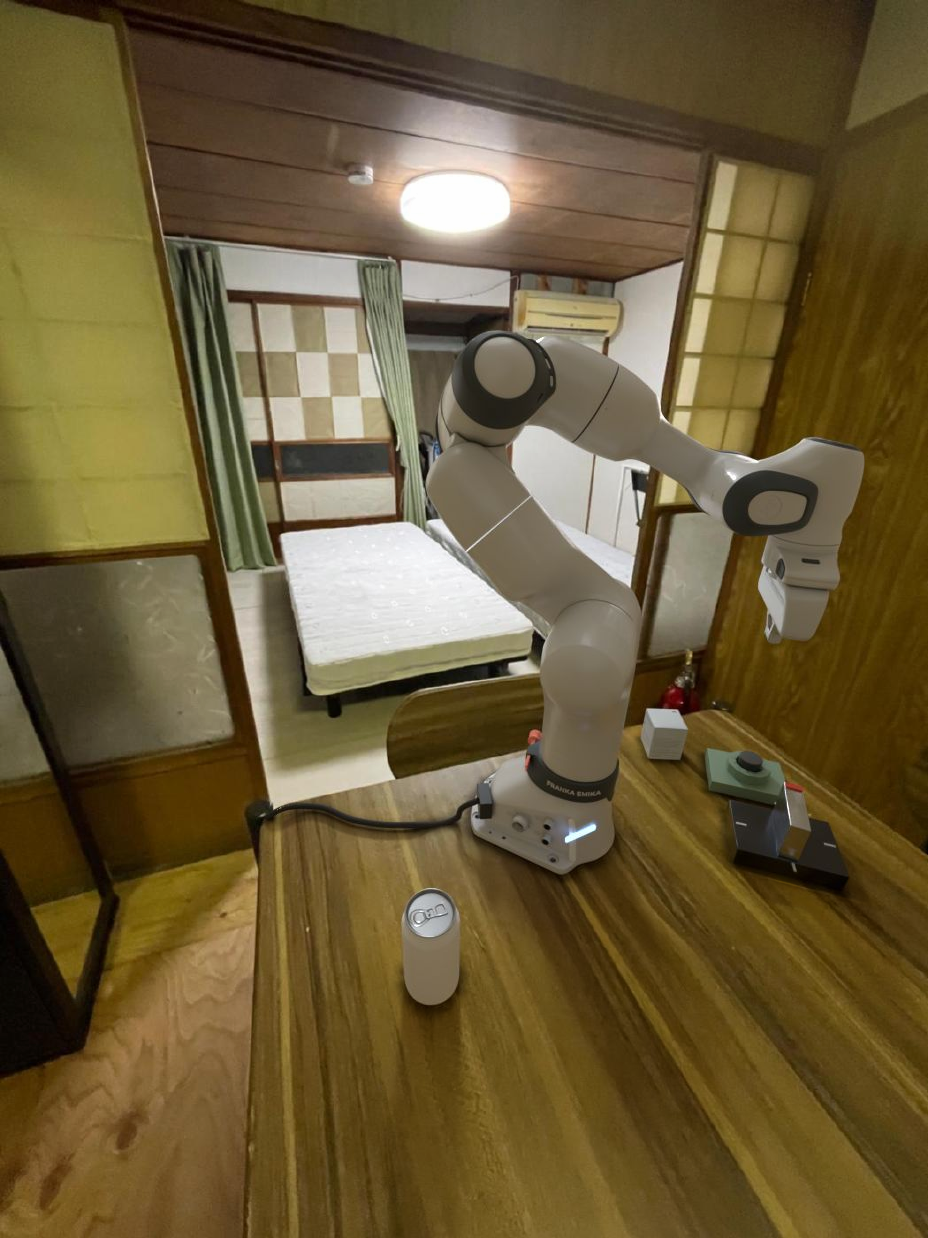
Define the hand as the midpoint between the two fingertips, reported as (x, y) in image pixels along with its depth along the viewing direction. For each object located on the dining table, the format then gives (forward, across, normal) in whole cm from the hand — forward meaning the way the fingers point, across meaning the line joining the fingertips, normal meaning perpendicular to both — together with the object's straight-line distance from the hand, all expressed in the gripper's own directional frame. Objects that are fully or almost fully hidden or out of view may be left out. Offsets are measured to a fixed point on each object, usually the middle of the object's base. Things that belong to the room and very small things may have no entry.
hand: (771, 639), depth 81 cm
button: (+24, +2, +2) cm, 24 cm away
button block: (+27, +2, +2) cm, 27 cm away
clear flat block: (+24, +16, +5) cm, 29 cm away
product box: (+27, -2, -12) cm, 30 cm away
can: (+27, +50, -38) cm, 68 cm away
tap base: (+27, +16, +5) cm, 32 cm away
